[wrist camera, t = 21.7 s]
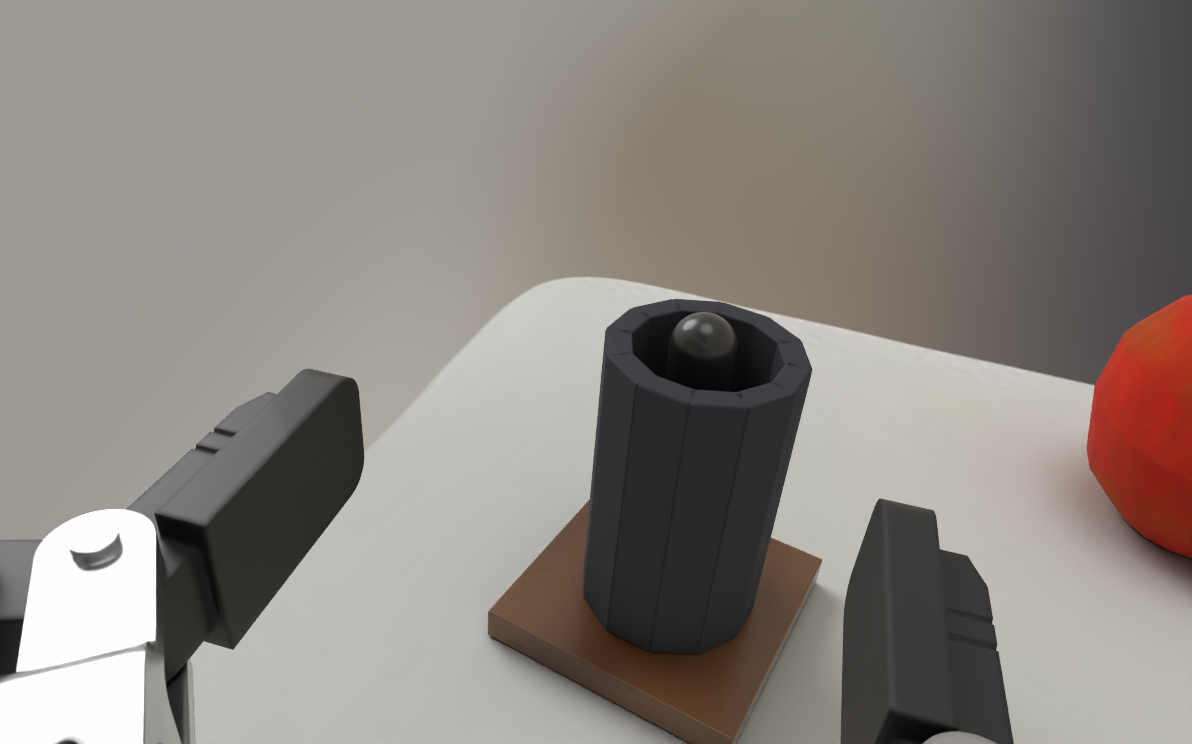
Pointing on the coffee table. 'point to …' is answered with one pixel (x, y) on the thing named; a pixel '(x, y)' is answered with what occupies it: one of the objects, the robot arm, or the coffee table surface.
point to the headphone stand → (626, 671)
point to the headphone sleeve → (687, 479)
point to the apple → (1148, 427)
